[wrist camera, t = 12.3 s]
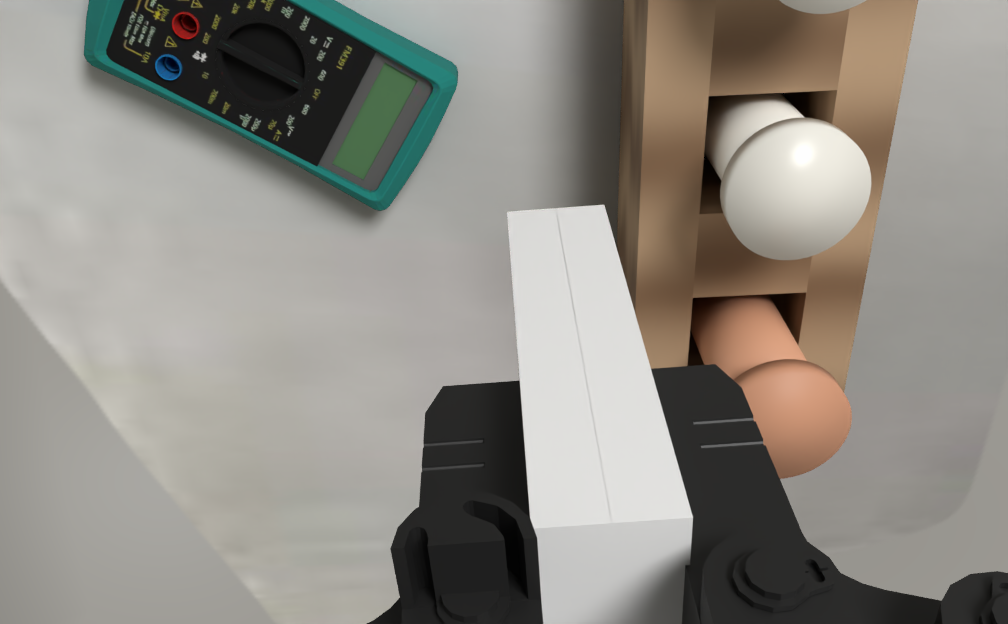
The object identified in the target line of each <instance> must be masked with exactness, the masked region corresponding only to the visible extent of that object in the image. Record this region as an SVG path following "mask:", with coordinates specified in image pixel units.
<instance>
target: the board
mask: <svg viewBox="0 0 1008 624" xmlns="http://www.w3.org/2000/svg"><path fill="white" fill-rule="evenodd" d="M917 3H918V0H866V1H865V2H863V3H861V4H859V5H857V6H855V7H852V8H850V9H847V10H844V11H840V12H836V13H828V14H812V13H806V12H802V11H798V10H795V9H793V8H791V7H789V6H787V5H785V4H783V3H782V2H781V1H779V0H624V14H623V49H622V85H621V120H620V155H619V190H618V226H617V251H618V255H619V258H620V262H621V265H622V269H623V272H624V276H625V279H626V283H627V286H628V290H629V294H630V297H631V301H632V304H633V308H634V311H635V315H636V318H637V322H638V325H639V329H640V332H641V336H642V339H643V343H644V346H645V350H646V353H647V357H648V360H649V364H650V368H651V369H654V368H668V367H682V366H696V365H704V363H703V360H702V358H701V355H700V353H699V350H698V347H697V345H696V342H695V340H694V337H693V335H692V332H691V330H690V326H691V314H692V301H693V298H699V297H720V296H741V295H762V294H769V296H770V297H771V299H772V301H773V303H774V304H775V306H776V308H777V309H778V311H779V313H780V315H781V316H782V318H783V320H784V322H785V323H786V325H787V327H788V329H789V330H790V332H791V334H792V336H793V337H794V339H795V341H796V343H797V344H798V346H799V348H800V350H801V351H802V353H803V355H804V357H805V358H806V360H807V361H808V362H811V363H814V364H816V365H819V366H820V367H822V368H824V369H825V370H827V371H828V372H829V373H830V374H831V375H832V376H833V377H834V378H835V380H836V381H837V383H838V384H839V386H840V388H841V389H842V391H843V393H844V389H845V384H846V378H847V373H848V368H849V363H850V357H851V352H852V347H853V341H854V336H855V331H856V326H857V320H858V315H859V310H860V304H861V299H862V294H863V289H864V283H865V278H866V273H867V268H868V262H869V257H870V252H871V246H872V241H873V236H874V231H875V225H876V220H877V215H878V209H879V204H880V199H881V194H882V188H883V183H884V178H885V172H886V167H887V162H888V157H889V151H890V146H891V141H892V135H893V130H894V125H895V120H896V114H897V109H898V104H899V99H900V93H901V88H902V83H903V77H904V72H905V67H906V62H907V56H908V51H909V46H910V40H911V35H912V30H913V25H914V19H915V14H916V9H917ZM766 93H785V98H786V99H787V100H788V101H789V102H790V103H791V104H792V105H793V106H794V107H795V108H796V109H797V110H798V111H799V112H800V113H801V114H802V115H803V116H804V117H805V118H814V119H819V120H823V121H826V122H828V123H830V124H833V125H835V126H836V127H838V128H839V129H841V130H842V131H843V132H844V133H845V134H846V135H847V136H848V137H849V138H850V139H851V140H853V141H854V142H855V143H856V144H857V145H858V147H859V148H860V149H861V150H862V152H863V153H864V155H865V157H866V159H867V161H868V164H869V167H870V173H871V191H870V196H869V200H868V203H867V206H866V208H865V211H864V212H863V214H862V216H861V218H860V219H859V221H858V222H857V224H856V225H855V227H854V228H853V229H852V230H851V231H850V232H849V233H848V234H847V235H846V236H845V237H844V238H843V239H842V240H840V241H839V242H838V243H836V244H835V245H834V246H832V247H830V248H829V249H827V250H825V251H823V252H821V253H819V254H816V255H813V256H810V257H807V258H802V259H797V260H776V259H770V258H767V257H763V256H761V255H758V254H756V253H754V252H753V251H751V250H749V249H748V248H747V247H746V246H744V245H743V244H742V243H741V242H740V241H739V240H738V238H737V237H736V235H735V234H734V232H733V231H732V229H731V227H730V225H729V224H728V222H727V220H726V218H725V216H724V214H723V210H722V207H721V201H720V187H721V179H720V178H719V176H718V174H717V173H716V171H715V169H714V168H713V166H712V165H711V163H710V161H709V160H704V149H705V136H706V124H707V111H708V98H709V96H724V95H745V94H766Z"/></svg>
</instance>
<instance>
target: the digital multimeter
mask: <svg viewBox="0 0 1008 624" xmlns="http://www.w3.org/2000/svg"><path fill="white" fill-rule="evenodd" d="M123 1H124V2H123ZM288 1H289V2H288ZM290 2H291V3H290ZM122 4H123V5H122ZM295 5H296V6H295ZM297 6H298V7H297ZM120 9H121V10H120ZM304 10H305V11H304ZM306 11H307V12H306ZM119 12H120V13H119ZM311 14H312V15H311ZM313 15H314V16H313ZM318 18H319V19H318ZM264 19H265V20H264ZM320 19H321V20H320ZM116 20H117V21H116ZM244 20H245V21H244ZM322 20H323V21H322ZM272 21H273V22H272ZM115 23H116V24H115ZM327 23H328V24H327ZM279 24H280V25H279ZM329 24H330V25H329ZM281 25H282V26H281ZM334 27H335V28H334ZM113 28H114V29H113ZM229 28H230V29H229ZM336 28H337V29H336ZM228 29H229V30H228ZM287 29H288V30H287ZM338 29H339V30H338ZM112 31H113V32H112ZM343 32H344V33H343ZM345 33H346V34H345ZM350 36H351V37H350ZM352 37H353V38H352ZM357 40H358V41H357ZM359 41H360V42H359ZM361 42H362V43H361ZM366 45H367V46H366ZM302 46H303V47H302ZM368 46H369V47H368ZM373 49H374V50H373ZM375 50H376V51H375ZM216 51H217V52H216ZM84 56H85V58H86V60H87V62H89V63H90V64H91V65H92V66H94V67H97V68H99V69H101V70H103V71H105V72H108V73H110V74H112V75H114V76H116V77H119V78H121V79H123V80H125V81H127V82H130V83H132V84H134V85H136V86H139V87H141V88H143V89H145V90H147V91H150V92H152V93H154V94H156V95H158V96H160V97H162V98H164V99H167V100H169V101H171V102H173V103H175V104H177V105H179V106H181V107H183V108H185V109H187V110H190V111H192V112H194V113H196V114H198V115H200V116H202V117H204V118H206V119H208V120H210V121H213V122H215V123H217V124H219V125H221V126H223V127H225V128H227V129H229V130H231V131H233V132H235V133H237V134H239V135H241V136H242V137H244V138H246V139H248V140H250V141H252V142H254V143H256V144H258V145H260V146H261V147H263V148H265V149H267V150H269V151H271V152H273V153H275V154H277V155H278V156H280V157H282V158H284V159H286V160H288V161H290V162H292V163H294V164H296V165H297V166H299V167H301V168H303V169H304V170H306V171H308V172H310V173H312V174H313V175H315V176H317V177H319V178H320V179H322V180H324V181H326V182H327V183H329V184H331V185H333V186H334V187H336V188H338V189H340V190H341V191H343V192H345V193H347V194H348V195H350V196H352V197H354V198H355V199H357V200H359V201H361V202H362V203H364V204H366V205H368V206H370V207H371V208H373V209H375V210H379V211H381V210H385V209H387V208H388V207H389V206H390V204H391V203H392V201H393V200H394V199H395V197H396V196H397V194H398V193H399V191H400V190H401V189H402V187H403V186H404V184H405V183H406V181H407V180H408V178H409V177H410V175H411V174H412V172H413V171H414V169H415V167H416V166H417V164H418V163H419V161H420V159H421V158H422V156H423V154H424V152H425V151H426V149H427V147H428V145H429V144H430V142H431V140H432V138H433V136H434V134H435V132H436V130H437V128H438V126H439V124H440V122H441V120H442V118H443V116H444V114H445V112H446V109H447V107H448V105H449V103H450V101H451V99H452V96H453V94H454V92H455V90H456V86H457V81H458V71H457V67H456V66H455V65H454V64H453V63H452V62H451V61H449V60H447V59H445V58H443V57H441V56H439V55H437V54H435V53H433V52H431V51H429V50H427V49H425V48H423V47H421V46H420V45H418V44H416V43H414V42H412V41H410V40H408V39H406V38H404V37H402V36H400V35H398V34H396V33H394V32H392V31H390V30H388V29H387V28H385V27H383V26H381V25H379V24H377V23H375V22H373V21H371V20H369V19H367V18H365V17H364V16H362V15H360V14H358V13H356V12H355V11H353V10H351V9H349V8H347V7H346V6H344V5H342V4H340V3H339V2H337V1H335V0H89V5H88V11H87V17H86V31H85V46H84ZM308 63H309V64H308ZM224 86H225V87H224ZM432 90H433V91H432ZM430 93H431V94H430ZM429 95H430V96H429ZM236 99H237V100H236ZM425 102H426V103H425ZM253 108H254V109H253ZM278 109H279V110H278ZM262 110H264V111H262ZM272 110H273V111H272Z"/></svg>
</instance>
